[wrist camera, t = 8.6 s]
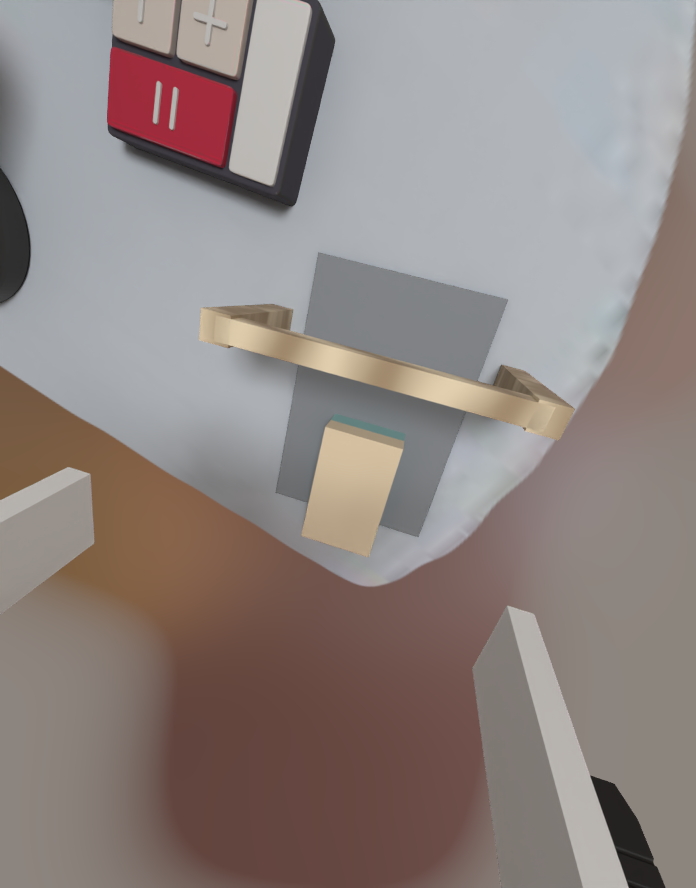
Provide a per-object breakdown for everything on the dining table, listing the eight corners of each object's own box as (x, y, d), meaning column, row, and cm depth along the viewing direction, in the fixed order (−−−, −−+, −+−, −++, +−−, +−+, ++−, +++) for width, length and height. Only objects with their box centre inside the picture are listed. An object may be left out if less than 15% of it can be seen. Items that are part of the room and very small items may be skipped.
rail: (269, 326, 35) (198, 339, 24) (272, 304, 34) (201, 307, 23) (515, 393, 33) (559, 440, 22) (524, 370, 32) (574, 408, 21)
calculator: (107, -75, 24) (318, -10, 23) (154, -23, 28) (337, 36, 27) (97, 129, 29) (274, 194, 27) (139, 150, 32) (296, 208, 31)
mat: (277, 490, 41) (275, 492, 41) (319, 252, 32) (318, 252, 31) (418, 534, 40) (418, 537, 40) (507, 299, 30) (508, 299, 30)
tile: (325, 426, 33) (335, 413, 36) (301, 535, 37) (312, 514, 41) (403, 449, 32) (405, 433, 36) (368, 557, 37) (373, 533, 40)
